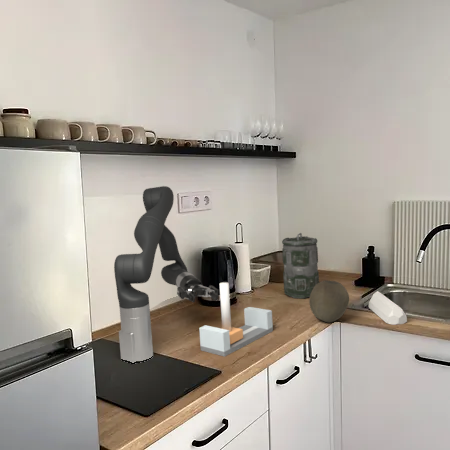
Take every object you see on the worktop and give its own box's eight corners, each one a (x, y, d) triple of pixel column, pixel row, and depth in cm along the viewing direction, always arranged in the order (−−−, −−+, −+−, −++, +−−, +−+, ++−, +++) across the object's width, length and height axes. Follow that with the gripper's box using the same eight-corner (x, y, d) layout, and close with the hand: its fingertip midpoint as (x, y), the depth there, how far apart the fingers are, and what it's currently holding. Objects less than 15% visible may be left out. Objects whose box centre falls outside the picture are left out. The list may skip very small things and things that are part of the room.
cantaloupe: (342, 329, 162) (340, 287, 160) (304, 324, 170) (302, 284, 168) (354, 317, 174) (353, 278, 172) (318, 313, 181) (317, 275, 180)
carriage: (228, 345, 147) (224, 287, 145) (211, 341, 152) (207, 284, 150) (243, 337, 153) (240, 281, 151) (226, 334, 158) (223, 279, 156)
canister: (317, 299, 201) (314, 235, 198) (281, 298, 206) (278, 236, 203) (321, 290, 216) (319, 231, 213) (287, 289, 221) (285, 231, 218)
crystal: (362, 298, 186) (382, 316, 162) (377, 288, 185) (400, 305, 162) (371, 313, 187) (393, 333, 163) (386, 303, 186) (411, 322, 162)
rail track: (224, 356, 143) (223, 333, 143) (200, 350, 150) (199, 327, 149) (272, 331, 164) (271, 310, 163) (250, 326, 170) (249, 306, 170)
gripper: (171, 275, 171) (187, 289, 156) (206, 274, 177) (225, 287, 163) (170, 295, 172) (185, 310, 158) (205, 292, 178) (223, 307, 164)
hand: (205, 298), depth 160 cm, fingers open, 8 cm apart
